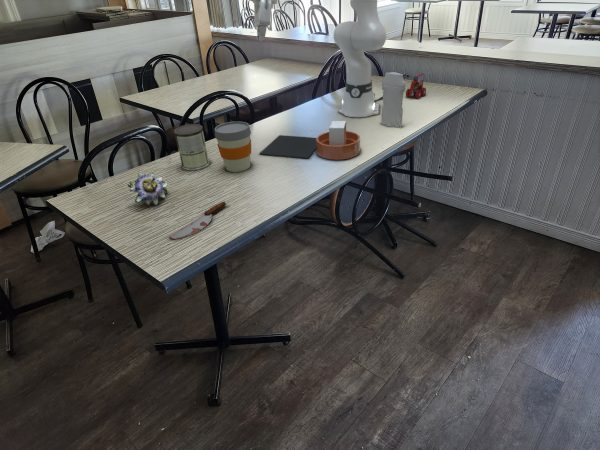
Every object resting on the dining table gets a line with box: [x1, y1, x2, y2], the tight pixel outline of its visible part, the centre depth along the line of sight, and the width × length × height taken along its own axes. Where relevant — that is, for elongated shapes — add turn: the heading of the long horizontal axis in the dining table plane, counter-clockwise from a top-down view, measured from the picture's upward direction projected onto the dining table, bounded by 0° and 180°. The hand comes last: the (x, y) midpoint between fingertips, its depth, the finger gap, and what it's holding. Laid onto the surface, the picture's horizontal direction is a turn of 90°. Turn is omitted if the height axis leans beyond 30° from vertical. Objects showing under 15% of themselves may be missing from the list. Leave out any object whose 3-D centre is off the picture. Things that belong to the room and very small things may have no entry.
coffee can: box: [173, 123, 210, 171], centre depth 154 cm, size 10×10×14 cm
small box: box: [328, 120, 347, 146], centre depth 156 cm, size 8×6×10 cm
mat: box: [259, 134, 317, 160], centre depth 166 cm, size 20×20×1 cm
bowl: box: [315, 130, 361, 161], centre depth 158 cm, size 16×16×6 cm
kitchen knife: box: [169, 201, 227, 240], centre depth 121 cm, size 21×2×5 cm
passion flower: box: [127, 171, 168, 206], centre depth 134 cm, size 11×11×12 cm
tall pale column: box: [380, 71, 407, 128], centre depth 174 cm, size 11×4×22 cm, turn 51°
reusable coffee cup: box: [214, 121, 252, 173], centre depth 149 cm, size 13×13×15 cm
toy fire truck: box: [405, 73, 427, 99], centre depth 211 cm, size 7×12×10 cm, turn 139°
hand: (260, 41), depth 144 cm, fingers open, 8 cm apart
